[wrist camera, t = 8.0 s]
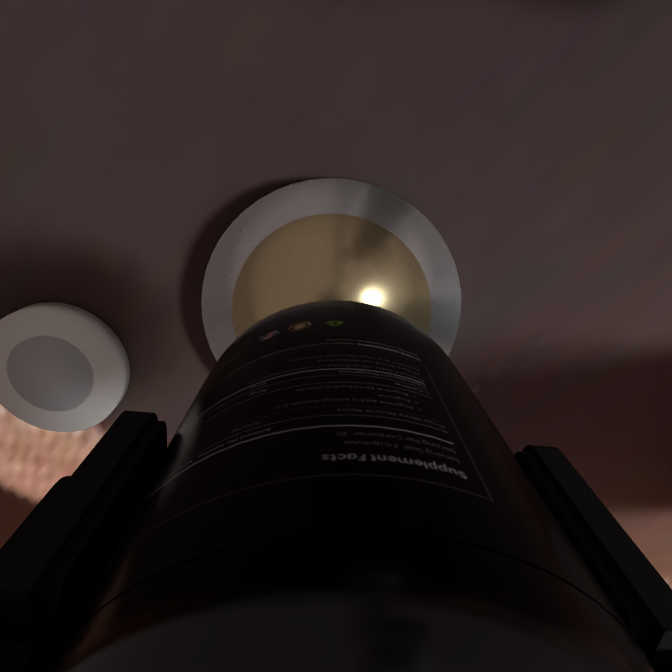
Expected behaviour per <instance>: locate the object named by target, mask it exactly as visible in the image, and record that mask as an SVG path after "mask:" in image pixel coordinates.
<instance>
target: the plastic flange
mask: <svg viewBox="0 0 672 672" xmlns="http://www.w3.org/2000/svg"><path fill="white" fill-rule="evenodd" d="M129 381H130V365H129V360H128V356H127V353H126V351H125V348H124V346H123V345H122V343H121V341H120V339H119V338H118V337H117V335H116V334H115V333H114V332H113V331H112V329H111V328H110V327H109V326H108V325H107V324H105V323H104V322H103V321H102V320H101V319H99V318H98V317H96V316H95V315H93V314H92V313H90V312H88V311H86V310H84V309H81V308H79V307H76V306H73V305H70V304H66V303H59V302H41V303H36V304H31V305H28V306H26V307H23V308H21V309H19V310H17V311H15V312H13V313H11V314H9V315H7V316H5V317H4V318H2V319H0V403H1V404H2V405H3V406H4V407H5V408H6V409H7V410H8V411H9V412H11V413H12V414H13V415H15V416H16V417H18V418H19V419H21V420H23V421H25V422H27V423H29V424H31V425H33V426H36V427H39V428H42V429H46V430H50V431H57V432H73V431H80V430H84V429H87V428H90V427H92V426H94V425H96V424H98V423H100V422H101V421H103V420H104V419H105V418H106V417H107V416H108V415H109V414H110V413H111V412H112V411H113V410H114V409H115V407H116V406H117V405H118V404H119V403H120V401H121V400H122V399H123V397H124V395H125V393H126V391H127V389H128V386H129Z"/></svg>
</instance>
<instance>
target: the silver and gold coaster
mask: <svg viewBox="0 0 672 672" xmlns="http://www.w3.org/2000/svg"><path fill="white" fill-rule="evenodd" d="M323 300H344V301H355V302H361V303H367V304H370V305H374V306H378V307H381V308H384V309H386V310H389V311H392V312H394V313H396V314H398V315H400V316H402V317H404V318H406V319H407V320H409V321H411V322H412V323H414V324H416V325H417V326H418V327H419V328H421V329H422V330H423V331H425V332H426V333H427V334H428V335H429V336H430V337H431V338H432V339H433V340H434V341H435V342H436V343H437V344H438V345H439V346H440V347H441V348H442V349H443V351H444V352H445V353H446V354H447V356H448V355H449V353H450V351H451V349H452V346H453V344H454V341H455V338H456V334H457V331H458V327H459V321H460V314H461V291H460V283H459V277H458V274H457V270H456V266H455V263H454V261H453V258H452V256H451V254H450V251H449V249H448V247H447V245H446V244H445V242H444V240H443V239H442V237H441V235H440V234H439V232H438V231H437V230H436V229H435V227H434V226H433V225H432V224H431V222H430V221H429V220H428V219H427V218H426V217H425V216H424V215H423V214H422V213H421V212H419V211H418V210H417V209H416V208H415V207H414V206H412V205H411V204H409V203H408V202H406V201H405V200H404V199H402V198H401V197H399V196H397V195H395V194H393V193H391V192H389V191H387V190H385V189H383V188H381V187H379V186H376V185H373V184H370V183H367V182H364V181H358V180H353V179H348V178H331V177H327V178H316V179H309V180H304V181H300V182H296V183H292V184H290V185H287V186H284V187H282V188H279V189H277V190H275V191H273V192H271V193H270V194H268V195H266V196H264V197H262V198H261V199H259V200H258V201H256V202H255V203H254V204H252V205H251V206H250V207H248V208H247V209H246V210H244V211H243V212H242V213H241V214H240V215H239V216H238V217H237V218H236V219H235V220H234V221H233V222H232V223H231V224H230V226H229V227H228V228H227V230H226V231H225V232H224V234H223V235H222V236H221V238H220V240H219V241H218V243H217V245H216V247H215V249H214V251H213V252H212V255H211V257H210V260H209V263H208V265H207V268H206V272H205V277H204V281H203V286H202V299H201V305H202V319H203V324H204V329H205V334H206V337H207V340H208V343H209V346H210V348H211V351H212V353H213V355H214V357H215V359H216V361H218V359H219V358H220V357H221V355H222V354H223V353H224V351H225V350H226V349H227V348H228V347H229V346H230V345H231V344H232V343H233V341H234V340H235V339H236V338H237V337H239V336H240V335H241V334H242V333H243V332H244V331H245V330H247V329H248V328H249V327H251V326H252V325H254V324H255V323H257V322H258V321H260V320H262V319H264V318H265V317H267V316H269V315H271V314H273V313H276V312H278V311H280V310H283V309H286V308H289V307H292V306H295V305H299V304H304V303H308V302H315V301H323Z"/></svg>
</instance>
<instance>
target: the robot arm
mask: <svg viewBox="0 0 672 672" xmlns="http://www.w3.org/2000/svg"><path fill="white" fill-rule="evenodd" d="M166 449H167V427H166V423H165V422H164V421H158V418H157V415H156V414H155V413H148V412H136V411H124V412H123V413H122V414H121V415H120V416H119V417H118V418H117V420H116V421H115V422H114V423H113V425H112V426H111V427H110V428H109V430H108V431H107V432H106V433H105V435H104V436H103V437H102V438H101V440H100V441H99V442H98V443H97V444H96V446H95V447H94V448H93V449H92V451H91V452H90V453H89V454H88V456H87V457H86V458H85V459H84V461H83V462H82V463H81V464H80V466H79V467H78V468H77V469H76V470H75V472H74V473H73V474H72V475H71V476H66V477H63V478H61V479H60V480H59V481H58V482H57V483H55V485H54V486H53V487H52V488H51V489H50V490H49V492H48V493H47V494H46V495H45V496H44V498H43V499H42V500H41V501H40V502H39V504H38V505H37V506H36V507H35V508H34V510H33V511H32V512H31V513H30V514H29V516H28V517H27V518H26V519H25V520H24V522H23V523H22V524H21V525H20V526H19V528H18V529H17V530H16V531H15V532H14V533H13V535H12V536H11V537H10V538H9V539H8V541H7V542H6V543H5V544H4V545H3V547H2V548H1V549H0V672H42V671H43V669H44V667H45V665H46V663H47V661H48V660H49V658H50V656H51V654H52V653H53V651H54V649H55V647H56V645H57V644H58V642H59V640H60V638H61V636H62V635H63V633H64V631H65V629H66V628H67V626H68V624H69V622H70V620H71V619H72V617H73V615H74V613H75V611H76V610H77V608H78V606H79V604H80V603H81V601H82V599H83V597H84V595H85V594H86V592H87V590H88V588H89V586H90V585H91V583H92V581H93V579H94V578H95V576H96V574H97V572H98V570H99V569H100V567H101V565H102V563H103V561H104V560H105V558H106V556H107V554H108V553H109V551H110V549H111V547H112V545H113V544H114V542H115V540H116V538H117V537H118V535H119V533H120V531H121V529H122V528H123V526H124V524H125V522H126V521H127V519H128V517H129V515H130V513H131V512H132V510H133V508H134V506H135V504H136V503H137V501H138V499H139V497H140V496H141V494H142V492H143V490H144V488H145V487H146V485H147V483H148V481H149V480H150V478H151V476H152V474H153V472H154V471H155V469H156V467H157V465H158V463H159V462H160V460H161V458H162V456H163V455H164V453H165V451H166ZM515 457H516V458H517V460H518V461H519V463H520V465H521V466H522V468H523V469H524V471H525V472H526V474H527V475H528V477H529V478H530V480H531V481H532V483H533V484H534V486H535V487H536V489H537V490H538V492H539V493H540V495H541V496H542V498H543V499H544V501H545V502H546V504H547V505H548V507H549V508H550V510H551V511H552V513H553V514H554V516H555V517H556V519H557V520H558V522H559V523H560V525H561V526H562V528H563V529H564V531H565V532H566V534H567V536H568V537H569V539H570V540H571V542H572V543H573V545H574V546H575V548H576V549H577V551H578V552H579V554H580V555H581V557H582V558H583V560H584V561H585V563H586V564H587V566H588V567H589V569H590V570H591V572H592V573H593V575H594V576H595V578H596V579H597V581H598V582H599V584H600V585H601V587H602V588H603V590H604V591H605V593H606V594H607V596H608V598H609V599H610V601H611V602H612V604H613V605H614V607H615V608H616V610H617V611H618V613H619V614H620V616H621V617H622V619H623V620H624V622H625V623H626V625H627V626H628V628H629V629H630V631H631V632H632V634H633V635H634V637H635V638H636V640H637V641H638V643H639V645H640V646H641V648H642V649H643V651H644V652H645V654H646V655H647V657H648V659H649V661H650V663H651V665H652V667H653V668H654V670H655V671H656V672H672V589H671V588H670V587H669V586H668V584H667V583H666V582H665V581H664V579H663V578H662V577H661V576H660V574H659V573H658V572H657V571H656V569H655V568H654V567H653V566H652V564H651V563H650V562H649V561H648V559H647V558H646V557H645V556H644V554H643V553H642V552H641V551H640V549H639V548H638V547H637V546H636V544H635V543H634V542H633V541H632V539H631V538H630V537H629V536H628V534H627V533H626V532H625V531H624V529H623V528H622V527H621V526H620V524H619V523H618V522H617V521H616V519H615V518H614V517H613V516H612V514H611V513H610V512H609V511H608V509H607V508H606V507H605V506H604V504H603V503H602V502H601V501H600V499H599V498H598V497H597V496H596V494H595V493H594V492H593V491H592V489H591V488H590V487H589V486H588V484H587V483H586V482H585V481H584V479H583V478H582V477H581V476H580V474H579V473H578V472H577V471H576V469H575V468H574V467H573V466H572V464H571V463H570V462H569V461H568V460H567V458H566V457H565V456H564V455H563V453H562V452H561V451H560V450H559V449H558V448H555V447H546V446H535V445H527V446H525V448H524V449H523V451H522V452H521V451H518V452H517V453H516V454H515Z"/></svg>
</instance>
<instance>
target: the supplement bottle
mask: <svg viewBox="0 0 672 672" xmlns="http://www.w3.org/2000/svg"><path fill="white" fill-rule="evenodd" d="M42 672H656V671H655V670H654V668H653V667H652V665H651V663H650V661H649V659H648V657H647V655H646V654H645V652H644V651H643V649H642V648H641V646H640V645H639V643H638V641H637V640H636V638H635V637H634V635H633V634H632V632H631V631H630V629H629V628H628V626H627V625H626V623H625V622H624V620H623V619H622V617H621V616H620V614H619V613H618V611H617V610H616V608H615V607H614V605H613V604H612V602H611V601H610V599H609V598H608V596H607V594H606V593H605V591H604V590H603V588H602V587H601V585H600V584H599V582H598V581H597V579H596V578H595V576H594V575H593V573H592V572H591V570H590V569H589V567H588V566H587V564H586V563H585V561H584V560H583V558H582V557H581V555H580V554H579V552H578V551H577V549H576V548H575V546H574V545H573V543H572V542H571V540H570V539H569V537H568V536H567V534H566V532H565V531H564V529H563V528H562V526H561V525H560V523H559V522H558V520H557V519H556V517H555V516H554V514H553V513H552V511H551V510H550V508H549V507H548V505H547V504H546V502H545V501H544V499H543V498H542V496H541V495H540V493H539V492H538V490H537V489H536V487H535V486H534V484H533V483H532V481H531V480H530V478H529V477H528V475H527V474H526V472H525V471H524V469H523V468H522V466H521V465H520V463H519V461H518V460H517V458H516V457H515V455H514V454H513V452H512V451H511V449H510V448H509V446H508V445H507V443H506V442H505V440H504V439H503V437H502V436H501V434H500V433H499V431H498V430H497V428H496V427H495V425H494V424H493V422H492V421H491V419H490V418H489V416H488V415H487V413H486V412H485V410H484V409H483V407H482V406H481V404H480V403H479V401H478V400H477V398H476V397H475V395H474V393H473V392H472V390H471V389H470V387H469V386H468V384H467V383H466V381H465V380H464V378H463V377H462V375H461V374H460V372H459V371H458V369H457V368H456V367H455V366H454V364H453V363H452V361H451V360H450V358H449V357H448V356H447V354H446V353H445V352H444V351H443V349H442V348H441V347H440V346H439V345H438V344H437V343H436V342H435V341H434V340H433V339H432V338H431V337H430V336H429V335H428V334H427V333H426V332H425V331H423V330H422V329H421V328H419V327H418V326H417V325H416V324H414V323H412V322H411V321H409V320H407V319H406V318H404V317H402V316H400V315H398V314H396V313H394V312H392V311H389V310H386V309H384V308H381V307H378V306H374V305H370V304H367V303H361V302H355V301H344V300H323V301H315V302H308V303H304V304H299V305H295V306H292V307H289V308H286V309H283V310H280V311H278V312H276V313H273V314H271V315H269V316H267V317H265V318H264V319H262V320H260V321H258V322H257V323H255V324H254V325H252V326H251V327H249V328H248V329H247V330H245V331H244V332H243V333H242V334H241V335H240V336H239V337H237V338H236V339H235V340H234V341H233V343H232V344H231V345H230V346H229V347H228V348H227V349H226V350H225V351H224V353H223V354H222V355H221V357H220V358H219V359H218V361H217V362H216V364H215V366H214V367H213V369H212V371H211V372H210V374H209V375H208V377H207V378H206V380H205V382H204V384H203V385H202V387H201V389H200V390H199V392H198V394H197V396H196V398H195V399H194V401H193V403H192V405H191V406H190V408H189V410H188V412H187V414H186V415H185V417H184V419H183V421H182V422H181V424H180V426H179V428H178V430H177V431H176V433H175V435H174V437H173V439H172V440H171V442H170V444H169V446H168V447H167V449H166V451H165V453H164V455H163V456H162V458H161V460H160V462H159V463H158V465H157V467H156V469H155V471H154V472H153V474H152V476H151V478H150V480H149V481H148V483H147V485H146V487H145V488H144V490H143V492H142V494H141V496H140V497H139V499H138V501H137V503H136V504H135V506H134V508H133V510H132V512H131V513H130V515H129V517H128V519H127V521H126V522H125V524H124V526H123V528H122V529H121V531H120V533H119V535H118V537H117V538H116V540H115V542H114V544H113V545H112V547H111V549H110V551H109V553H108V554H107V556H106V558H105V560H104V561H103V563H102V565H101V567H100V569H99V570H98V572H97V574H96V576H95V578H94V579H93V581H92V583H91V585H90V586H89V588H88V590H87V592H86V594H85V595H84V597H83V599H82V601H81V603H80V604H79V606H78V608H77V610H76V611H75V613H74V615H73V617H72V619H71V620H70V622H69V624H68V626H67V628H66V629H65V631H64V633H63V635H62V636H61V638H60V640H59V642H58V644H57V645H56V647H55V649H54V651H53V653H52V654H51V656H50V658H49V660H48V661H47V663H46V665H45V667H44V669H43V671H42Z"/></svg>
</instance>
